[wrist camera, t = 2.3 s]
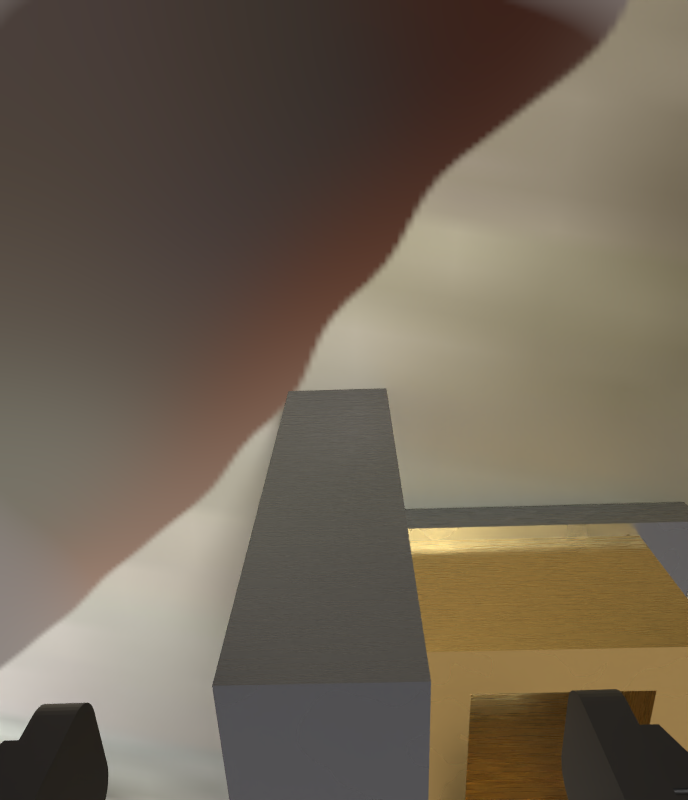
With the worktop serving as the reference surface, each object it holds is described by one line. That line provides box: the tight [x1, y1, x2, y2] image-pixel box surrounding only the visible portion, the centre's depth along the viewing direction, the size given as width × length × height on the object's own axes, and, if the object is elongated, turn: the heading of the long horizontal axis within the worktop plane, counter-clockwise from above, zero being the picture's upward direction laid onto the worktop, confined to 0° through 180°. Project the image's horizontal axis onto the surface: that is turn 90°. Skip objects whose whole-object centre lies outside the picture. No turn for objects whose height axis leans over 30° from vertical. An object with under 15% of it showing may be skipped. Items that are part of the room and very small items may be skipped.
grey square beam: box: [212, 389, 431, 800], centre depth 15 cm, size 3×3×12 cm
